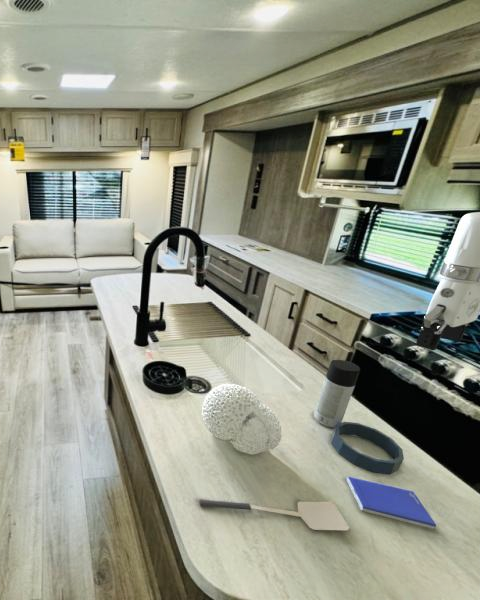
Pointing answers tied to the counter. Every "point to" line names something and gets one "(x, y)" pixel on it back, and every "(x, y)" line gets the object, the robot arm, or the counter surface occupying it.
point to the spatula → (297, 513)
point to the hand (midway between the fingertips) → (437, 343)
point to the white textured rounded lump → (241, 419)
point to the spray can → (336, 392)
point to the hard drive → (390, 502)
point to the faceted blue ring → (362, 459)
